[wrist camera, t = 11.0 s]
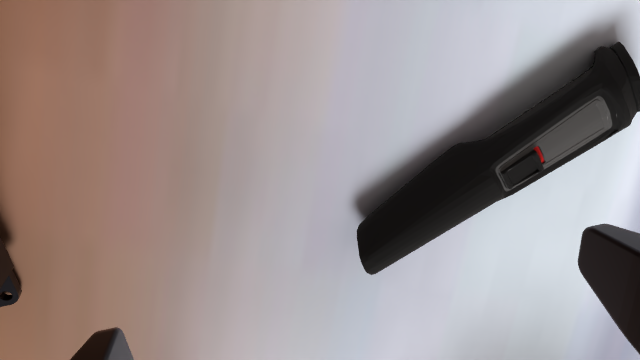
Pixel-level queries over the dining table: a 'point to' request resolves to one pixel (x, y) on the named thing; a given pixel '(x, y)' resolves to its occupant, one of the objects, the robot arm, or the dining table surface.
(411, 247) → the electric trimmer
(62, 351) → the dining table surface
